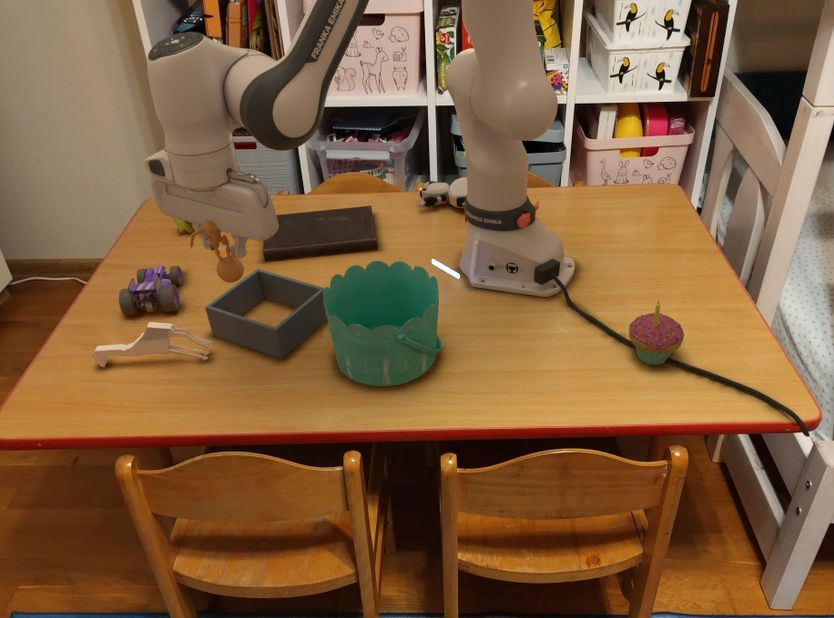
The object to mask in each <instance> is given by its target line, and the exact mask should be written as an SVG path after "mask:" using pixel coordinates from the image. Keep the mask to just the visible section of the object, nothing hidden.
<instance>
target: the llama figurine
mask: <svg viewBox="0 0 834 618" xmlns="http://www.w3.org/2000/svg"><path fill="white" fill-rule="evenodd" d="M171 338H185V339H187V340H189V341H190V342H193V343H195V344H197V345H200V346H202V347H204V348H205V349H208V350H209V349H210V348H211V344H212V341H213V340H209V339H206V338H203V337H201V336H198V335H196V334H193V333H192V332H191V331H190V330H188V329H187V328H181V327H179V328H178V327H176V325H175V324H174V323H171V322H170V323H167V322H155V321H154V322H153V321H148V323H147V325H146V328H145V330H144V331H143V332H142V333H141V334H140V335H139V336H138V337H137V338H136V339H135V340H134V341H133V342H130V343H129V344H124V343H119V344H118V343H117V344H106V345H105V344H104V345H103V344H102V345H97V346H96V347H95V349H94V350H93V352H92V354H91V357H92V358H93V360H94V361H95V362H96V363H97V364H98V365H99V367H102V368H106V364H107V363H108V361H107V359H108V357H109V356H117V357H131V358H133V357H141V356H143V357H144V356H151V355H157V354H160V355H164V356H165V355H168V354H175V355H182V356H188V357H193V358H198V359H202V361H206V360H208V359H209V357H207V356H208V355H209V354H210V351H207V350H202V349H197V348H191V347H186V346H183V345H178V344H173V343H170V341H171ZM194 353H198V354H194ZM200 354H203V355H200Z"/></svg>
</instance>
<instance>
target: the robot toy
mask: <svg viewBox="0 0 834 618" xmlns="http://www.w3.org/2000/svg"><path fill="white" fill-rule="evenodd" d="M466 195H467V176H466V177H459V178H457V179H454V181H453V182H452V183H451V184H448V183H447V182H439V181H434V180H430V181H426V182H425V183H423V187H422V189H421V190H420V191H419V197H420V198H421V199H422V200H418V201H417V202H416V203H417V206H418V207H426V208H428V207H433V206H440V205H443V204H447V203H448V202H449V204H450V205H452V206H453V207H455V208H458V209H461V208H462V209H464V210H465V197H466Z"/></svg>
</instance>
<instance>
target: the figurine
mask: <svg viewBox="0 0 834 618" xmlns="http://www.w3.org/2000/svg"><path fill="white" fill-rule="evenodd" d="M202 231H205V232H206V233H207V234H208V235H209V236H210V237H211V238H209V239H208V242H209V244H210V245H211V246H212V247H213V248H215V250H214V254H215V255H216V256H217V258H218V260H219V261H218V263H217V265H216V273H217V276H218V277H219V278H220V280H221V281H223V282H226V283H229V284H230V283H237V282H239V280H241V278H242V277H243V275H244V273H245V266H244V264H243V262H242V260H241V259H239V258H236V257H233V256H231V252H230V248H229V247H230V240H229V239H228V236H227V235H225V234H224V235H222V231H220V230H218V229H217V227H216V225H215V224H214V223H213V222H211V221H209V220H207V221H206V222H205V223H204V224H203V225H202V226H201V227H200V228H199V229H197V230H196V231H195V230H194V231H192V232H191V233H190V241H189V246H190V249H191V250H192V249H193V247H194V244H195V243H194V241H195V236H197V235H198V234H199V233H201V232H202ZM218 243H219V244H220V243H221V245H222V246H226V248H225V252H226V256H224V257H222V256H221V252H220V250H219V247H217V246H218Z"/></svg>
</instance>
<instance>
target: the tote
mask: <svg viewBox="0 0 834 618" xmlns="http://www.w3.org/2000/svg"><path fill="white" fill-rule="evenodd" d="M324 288H325V287H322V286H318V285H315V284H312V283H310V282H309V283H308V282H306V281H301V280H298V279H295V278H291V277H288V276H284V275H281V274H278V273H274V272H272V271H268V270H264V269H260V268H256V269H255V270H253V271H252V272H251V273H249V274H248V275H247V276H245V277H244V278H242V279H240V281H238V282H236V283H235V284H234V285H233V286H232V287H231V288H229V289H227V290H226V291H225V292H224V293H222V294H221V295H219V296H218V297H217V298H215V299H214V300H213V301H211V302H210V303H209V304H207V305H206V306H204V309H205V312H206V316H207V319H208V322H209V327H210V329H211V334H212V335H213V336H215V337H218V338H221V339H223V340H226V341H228V342H231V343H235V344H238V345H239V346H242V347H245V348H249V349H252V350H255V351H257V352H260V353H262V354H265V355H268V356H271V357H274V358H277V359H280V360H282V359H284V358H285V357H286V356H287V355H288V354H289V353H291V352H292V351H293V350H294V349H295V348H296V347H297V346H298V345H299V344H301V343H302V342H303V341H304V340H305V339H306V338H307V337H308V336H309V335H311V334H312V333H313V332H314V331H315V330H316V329H317V328H318V327H320V325H322V324H323V323H324V322H325V321H327V316H326V311H325V307H324V302H323V301H324V296H323V292H324ZM263 299H266V300H269V301H272V302H275V303H279V304H282V305H285V306H288V307H291V308H293V309H295V310H294V311H293V312H291V313H290V314H289V315H288V316H287V317H286V318H284V319H283V320H282V321H281V322H280V323H279V324H277V325H276V326H272V325H269V324H267V323H263V322H261V321H257V320H255V319H251V318H248V317H245V316H244V315H245V313H247V312H248V311H249V310H251V309H252V308H253V307H254V306H256V305H258V303H259V302H261V301H262V300H263Z"/></svg>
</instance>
